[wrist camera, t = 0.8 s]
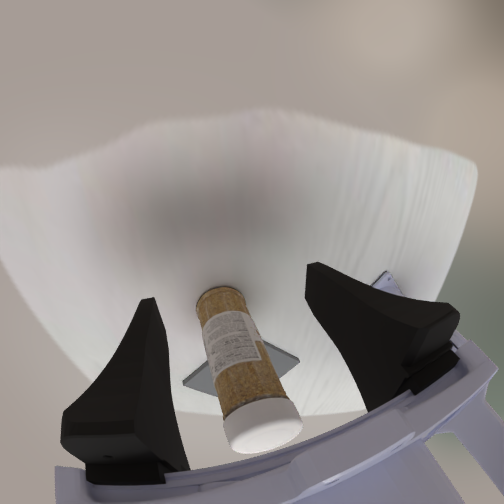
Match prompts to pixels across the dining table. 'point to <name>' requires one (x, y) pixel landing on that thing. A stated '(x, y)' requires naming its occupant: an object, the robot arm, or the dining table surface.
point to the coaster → (204, 381)
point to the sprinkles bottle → (244, 376)
